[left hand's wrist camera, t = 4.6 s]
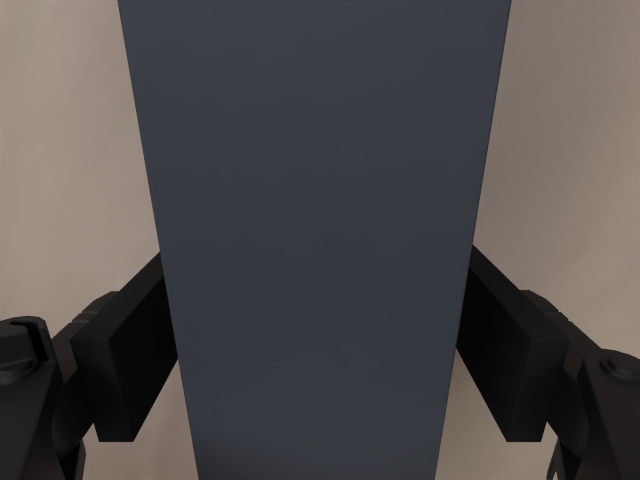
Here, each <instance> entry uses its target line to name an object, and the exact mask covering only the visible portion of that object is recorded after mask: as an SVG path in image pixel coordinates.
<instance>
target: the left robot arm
mask: <svg viewBox="0 0 640 480" xmlns="http://www.w3.org/2000/svg"><path fill="white" fill-rule="evenodd" d="M456 349H457V350H458V352H459V354H460V356H461V358H462V360H463V362H464V363H465V365H466V367H467V369H468V371H469V373H470V375H471V376H472V378H473V380H474V382H475V384H476V386H477V388H478V389H479V391H480V393H481V395H482V397H483V399H484V401H485V402H486V404H487V406H488V408H489V410H490V412H491V414H492V415H493V417H494V419H495V421H496V423H497V425H498V427H499V428H500V430H501V432H502V434H503V436H504V438H505V440H506V441H507V442H541V439H542V436H543V433H544V429H545V426H546V422H548V423H549V425H550V426H551V428H552V429H553V430H554V432H555V433H556V435H557V436H558V439H557V443H556V446H555V449H554V452H553V455H552V458H551V462H550V465H549V468H548V471H547V478H546V479H547V480H553V477H554V474H555V472H557V478H558V480H640V359H638V358H636V357H634V356H631V355H629V354H625V353H622V352H619V351H615V350H608V349H601V348H600V347H599V346H598V345H597V344H596V343H594V342H593V341H592V340H591V339H590V338H589V337H588V336H587V335H586V334H584V333H583V332H582V331H581V330H580V329H579V328H578V327H577V326H576V325H574V324H573V323H572V322H571V321H568V318H567V317H566V316H564V315H563V314H562V313H561V312H558V309H557V308H556V307H554V306H553V305H552V304H551V303H550V302H549V301H548V300H547V299H545V298H543V297H541V296H539V295H537V294H536V293H534V292H532V291H530V290H519V289H518V288H517V287H516V286H515V285H514V284H513V283H512V282H511V281H510V280H509V279H508V278H507V277H506V276H505V275H504V274H503V273H502V272H501V271H500V270H499V269H498V268H496V267H495V266H494V265H493V264H492V263H491V262H490V261H489V260H488V259H487V258H486V257H485V256H484V255H483V254H482V253H481V252H480V251H479V250H478V249H477V248H476V247H475V246H474V245H473V244H472V250H471V256H470V262H469V268H468V275H467V281H466V287H465V293H464V300H463V306H462V312H461V318H460V324H459V331H458V337H457V343H456ZM177 360H178V354H177V348H176V342H175V336H174V331H173V325H172V319H171V313H170V307H169V301H168V295H167V289H166V283H165V277H164V272H163V266H162V260H161V254H160V252H159V253H158V254H157V255H156V256H155V257H154V258H153V259H152V260H151V261H150V262H149V263H148V264H147V265H146V266H145V267H143V268H142V269H141V270H140V271H139V272H138V273H137V274H136V275H135V276H134V277H133V278H132V279H131V280H130V281H129V282H128V283H127V284H126V285H125V286H124V287H123V288H122V289H121V290H120V291H111V292H109V293H107V294H105V295H103V296H102V297H100V298H98V299H96V300H94V301H93V302H92V303H91V304H90V305H88V306H87V307H86V308H85V309H84V310H83V311H82V314H79V315H77V316H76V317H75V318H74V319H73V320H72V323H69V324H68V325H66V326H65V327H64V328H63V329H62V330H61V331H60V332H59V333H58V334H57V335H55V336H54V337H53V338H52V339H51V338H50V334H49V331H48V328H47V325H46V322H45V320H43V319H42V318H40V317H34V316H22V317H14V318H10V319H6V320H2V321H0V480H82V479H83V472H84V465H85V458H86V452H85V446H84V443H83V439H82V438H83V437H84V435H85V434H86V433H87V431H88V430H89V428H90V427H91V425H92V424H93V422H94V426H95V429H96V433H97V436H98V439H99V442H133V441H134V440H135V438H136V436H137V434H138V432H139V430H140V428H141V427H142V425H143V423H144V421H145V419H146V417H147V415H148V414H149V412H150V410H151V408H152V406H153V404H154V402H155V401H156V399H157V397H158V395H159V393H160V391H161V389H162V388H163V386H164V384H165V382H166V380H167V378H168V376H169V375H170V373H171V371H172V369H173V367H174V365H175V363H176V362H177Z"/></svg>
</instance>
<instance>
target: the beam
mask: <svg viewBox="0 0 640 480" xmlns="http://www.w3.org/2000/svg"><path fill="white" fill-rule="evenodd" d="M118 6H119V12H120V18H121V24H122V30H123V36H124V41H125V47H126V53H127V59H128V65H129V71H130V77H131V83H132V89H133V95H134V100H135V106H136V112H137V118H138V124H139V130H140V136H141V142H142V148H143V154H144V159H145V165H146V171H147V177H148V183H149V189H150V195H151V201H152V207H153V213H154V218H155V224H156V230H157V236H158V242H159V248H160V254H161V260H162V266H163V272H164V277H165V283H166V289H167V295H168V301H169V307H170V313H171V319H172V325H173V331H174V336H175V342H176V348H177V354H178V360H179V366H180V372H181V378H182V384H183V389H184V395H185V401H186V407H187V413H188V419H189V425H190V431H191V437H192V443H193V448H194V454H195V460H196V466H197V472H198V478H199V480H435V474H436V468H437V462H438V456H439V449H440V443H441V437H442V431H443V424H444V418H445V412H446V406H447V399H448V393H449V387H450V381H451V374H452V368H453V362H454V356H455V349H456V343H457V337H458V331H459V324H460V318H461V312H462V306H463V300H464V293H465V287H466V281H467V275H468V268H469V262H470V256H471V250H472V243H473V237H474V231H475V225H476V218H477V212H478V206H479V200H480V193H481V187H482V181H483V175H484V169H485V162H486V156H487V150H488V144H489V137H490V131H491V125H492V119H493V112H494V106H495V100H496V94H497V87H498V81H499V75H500V69H501V62H502V56H503V50H504V44H505V37H506V31H507V25H508V19H509V13H510V6H511V0H118Z"/></svg>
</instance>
